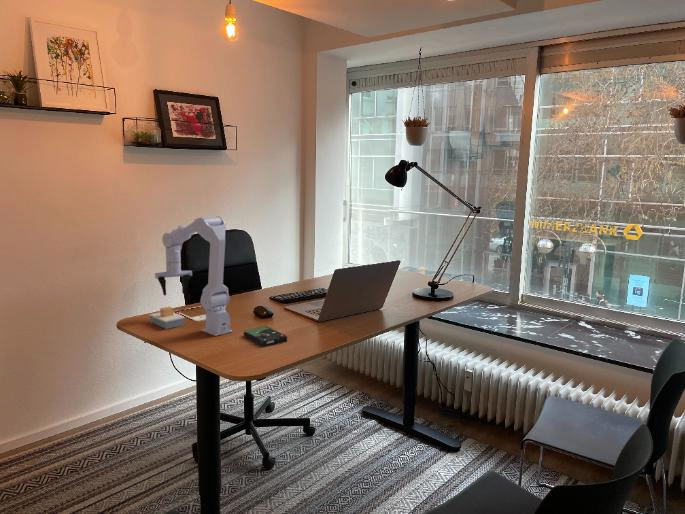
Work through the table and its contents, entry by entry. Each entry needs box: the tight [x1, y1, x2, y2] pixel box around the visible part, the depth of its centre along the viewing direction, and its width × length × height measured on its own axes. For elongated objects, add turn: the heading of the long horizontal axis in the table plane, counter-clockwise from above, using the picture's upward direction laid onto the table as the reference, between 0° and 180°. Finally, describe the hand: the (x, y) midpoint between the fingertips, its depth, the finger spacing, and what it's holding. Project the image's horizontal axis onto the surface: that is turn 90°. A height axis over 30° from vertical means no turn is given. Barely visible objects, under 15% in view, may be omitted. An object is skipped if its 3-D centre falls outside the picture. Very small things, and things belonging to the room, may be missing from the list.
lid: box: [148, 306, 186, 322], centre depth 212 cm, size 12×8×4 cm
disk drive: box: [243, 325, 288, 348], centre depth 199 cm, size 10×3×15 cm
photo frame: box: [176, 305, 206, 322], centre depth 229 cm, size 15×1×18 cm
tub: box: [149, 316, 185, 330], centre depth 213 cm, size 12×8×3 cm, turn 48°
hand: (174, 294), depth 221 cm, fingers open, 7 cm apart
